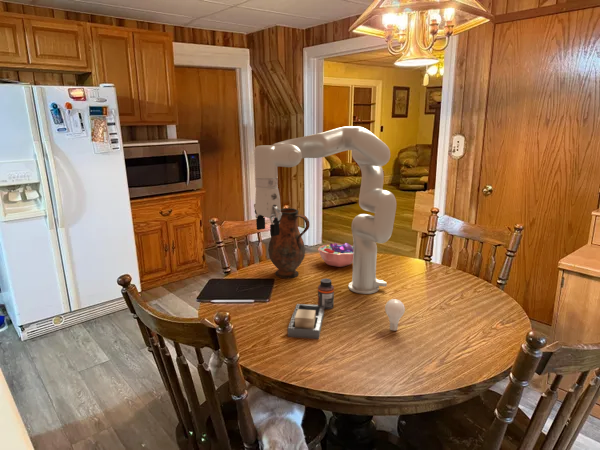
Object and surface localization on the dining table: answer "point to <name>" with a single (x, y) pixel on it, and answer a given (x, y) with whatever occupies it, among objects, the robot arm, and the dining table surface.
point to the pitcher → (288, 244)
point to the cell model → (337, 254)
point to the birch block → (305, 318)
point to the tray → (307, 332)
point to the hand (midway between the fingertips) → (267, 232)
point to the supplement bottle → (326, 294)
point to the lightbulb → (394, 312)
